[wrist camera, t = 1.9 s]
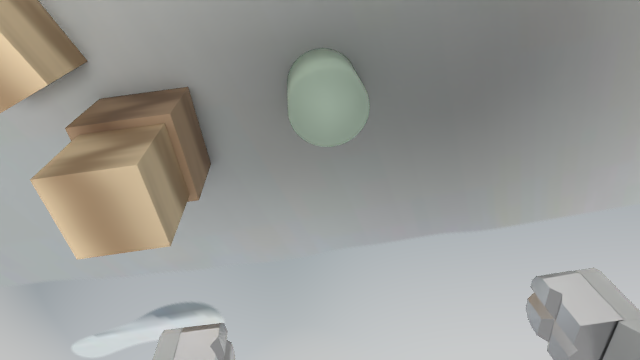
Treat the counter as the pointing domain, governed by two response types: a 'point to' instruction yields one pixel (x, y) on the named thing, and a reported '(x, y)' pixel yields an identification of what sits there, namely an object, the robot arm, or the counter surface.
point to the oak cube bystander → (31, 51)
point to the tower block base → (152, 110)
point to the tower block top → (115, 191)
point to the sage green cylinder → (326, 98)
